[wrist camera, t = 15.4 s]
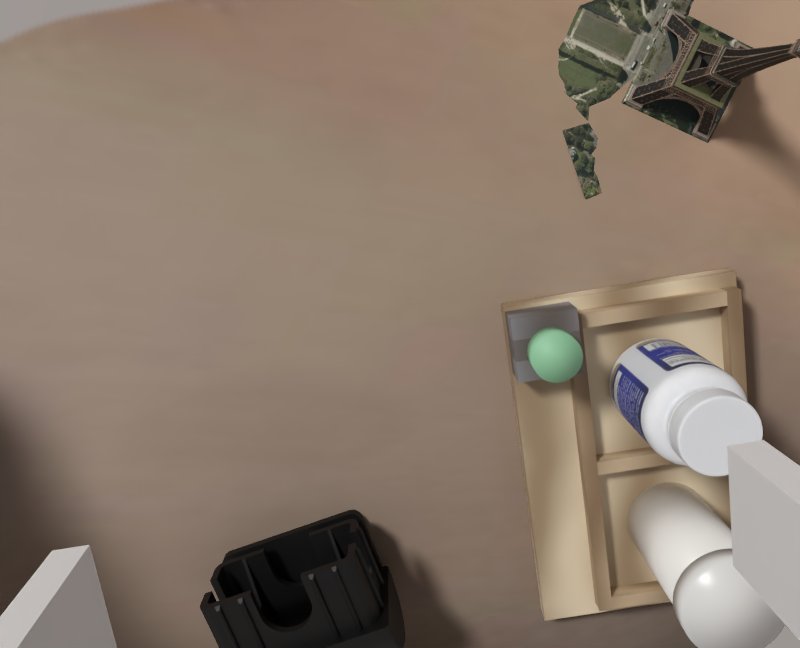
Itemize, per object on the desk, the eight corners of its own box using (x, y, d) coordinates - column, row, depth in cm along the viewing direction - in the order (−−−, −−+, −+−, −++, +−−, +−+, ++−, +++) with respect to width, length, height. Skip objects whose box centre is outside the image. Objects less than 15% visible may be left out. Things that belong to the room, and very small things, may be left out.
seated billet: (627, 564, 46) (686, 665, 37) (619, 486, 45) (678, 570, 36) (712, 551, 46) (791, 649, 37) (706, 472, 45) (787, 553, 36)
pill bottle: (653, 441, 44) (718, 512, 35) (588, 386, 43) (639, 446, 35) (718, 374, 43) (801, 430, 35) (653, 317, 42) (721, 360, 34)
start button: (523, 367, 42) (535, 386, 39) (517, 322, 41) (529, 337, 38) (569, 360, 42) (585, 378, 38) (564, 315, 41) (580, 329, 38)
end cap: (258, 649, 48) (238, 728, 42) (214, 555, 47) (185, 622, 40) (405, 600, 48) (408, 673, 41) (365, 503, 46) (361, 563, 39)
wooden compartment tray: (541, 609, 48) (551, 641, 45) (501, 303, 43) (509, 315, 40) (745, 578, 47) (770, 608, 44) (726, 267, 43) (752, 277, 40)
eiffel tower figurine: (796, -81, 40) (997, -195, 26) (840, 106, 42) (1046, 87, 29) (526, 26, 40) (592, -32, 27) (583, 204, 43) (670, 228, 30)
